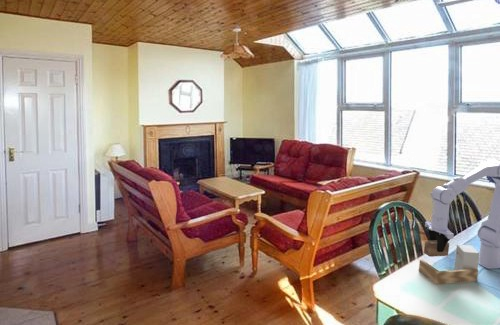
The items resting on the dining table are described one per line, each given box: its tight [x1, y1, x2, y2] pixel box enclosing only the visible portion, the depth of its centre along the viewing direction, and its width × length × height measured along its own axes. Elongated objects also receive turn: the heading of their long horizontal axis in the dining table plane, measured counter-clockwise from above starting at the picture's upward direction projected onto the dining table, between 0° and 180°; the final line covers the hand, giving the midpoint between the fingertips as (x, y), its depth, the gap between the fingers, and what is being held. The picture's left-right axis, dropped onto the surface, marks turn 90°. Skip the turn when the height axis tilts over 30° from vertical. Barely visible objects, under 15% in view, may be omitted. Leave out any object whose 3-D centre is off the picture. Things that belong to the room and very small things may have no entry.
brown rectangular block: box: [423, 239, 450, 258], centre depth 149 cm, size 4×8×5 cm, turn 100°
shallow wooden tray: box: [418, 259, 479, 285], centre depth 144 cm, size 17×11×4 cm, turn 100°
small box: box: [453, 243, 480, 271], centre depth 146 cm, size 8×6×10 cm
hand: (436, 249), depth 149 cm, fingers closed on brown rectangular block, 4 cm apart
